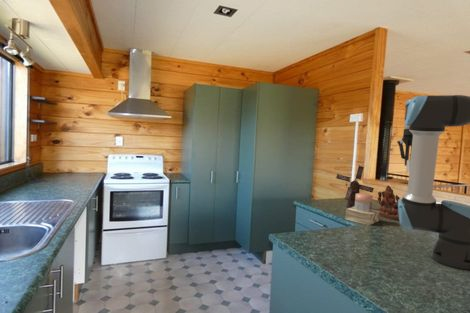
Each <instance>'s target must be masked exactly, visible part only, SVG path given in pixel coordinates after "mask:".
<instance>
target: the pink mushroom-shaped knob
mask: <svg viewBox="0 0 470 313" xmlns="http://www.w3.org/2000/svg"><path fill="white" fill-rule="evenodd" d="M355 201H356V202H360V203H372V204H373V195H372V194H371V193H370V194H368V193H362V192H360V193H356V196H355Z"/></svg>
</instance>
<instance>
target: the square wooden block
mask: <svg viewBox="0 0 470 313" xmlns="http://www.w3.org/2000/svg"><path fill="white" fill-rule="evenodd" d="M354 208H355V206H354V207H351V208H346V209H345V214H344V215H345V217H344V220H346V221H350V222H356V223H358V224H359V223H360V224H362V225H363V224H364V225H367V226H371V225H373V224H376V223H378V222H379V221H380V217H381V216H380V211H379V210H378V209H373V208H372V210H371V211H370V212H362V211H357V210H355V209H354Z"/></svg>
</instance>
